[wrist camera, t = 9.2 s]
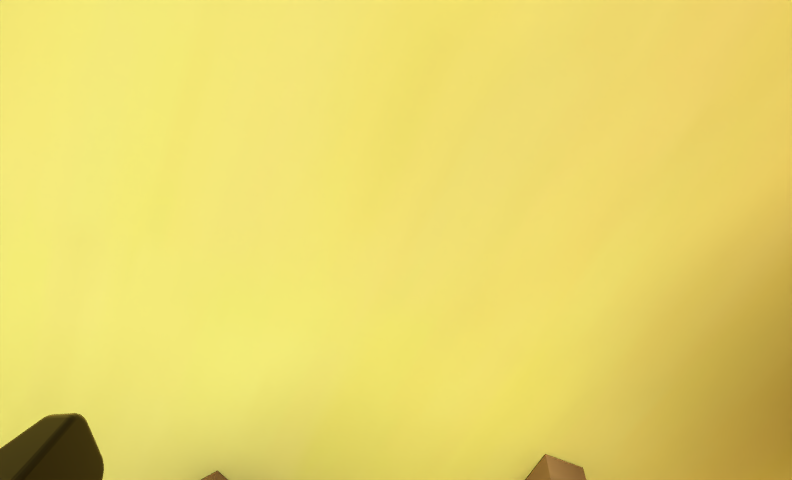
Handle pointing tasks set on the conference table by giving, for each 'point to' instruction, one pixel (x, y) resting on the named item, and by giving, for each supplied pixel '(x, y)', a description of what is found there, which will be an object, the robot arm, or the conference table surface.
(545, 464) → the lane
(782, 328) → the conference table surface
